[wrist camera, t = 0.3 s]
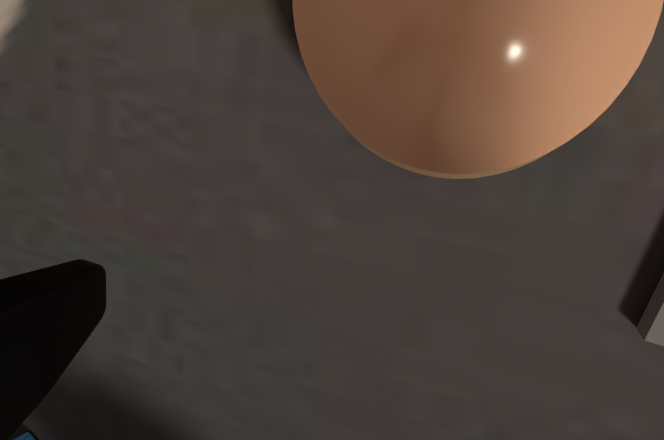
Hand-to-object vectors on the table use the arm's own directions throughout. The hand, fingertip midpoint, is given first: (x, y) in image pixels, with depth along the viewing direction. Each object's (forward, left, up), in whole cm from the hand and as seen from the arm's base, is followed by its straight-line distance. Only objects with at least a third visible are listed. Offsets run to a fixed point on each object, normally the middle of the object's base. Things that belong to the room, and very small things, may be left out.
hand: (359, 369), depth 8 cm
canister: (+6, 0, -11) cm, 12 cm away
